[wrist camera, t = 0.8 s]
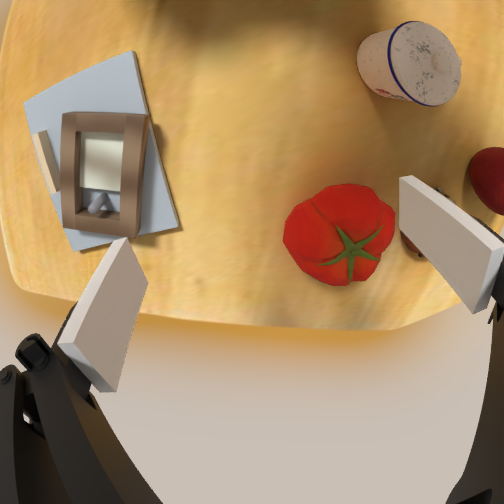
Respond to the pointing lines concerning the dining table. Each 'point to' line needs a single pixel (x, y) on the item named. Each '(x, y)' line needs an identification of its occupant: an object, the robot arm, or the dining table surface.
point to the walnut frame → (103, 169)
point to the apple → (489, 177)
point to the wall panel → (99, 100)
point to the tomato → (340, 233)
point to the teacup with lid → (410, 64)
